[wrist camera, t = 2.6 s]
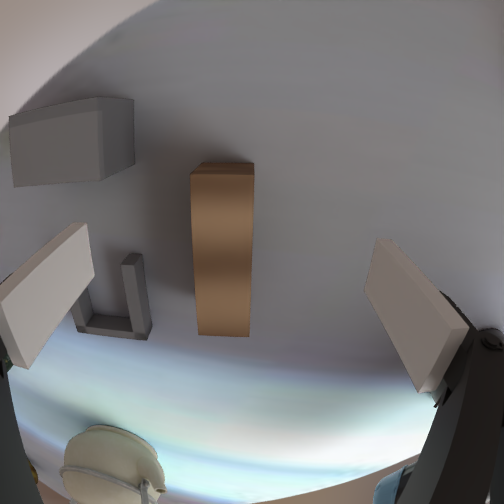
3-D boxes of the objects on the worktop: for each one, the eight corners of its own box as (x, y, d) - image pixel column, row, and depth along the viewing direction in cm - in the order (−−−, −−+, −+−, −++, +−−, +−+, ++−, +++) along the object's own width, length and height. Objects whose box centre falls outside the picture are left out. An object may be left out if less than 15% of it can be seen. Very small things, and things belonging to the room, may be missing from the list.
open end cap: (152, 326, 34) (146, 340, 32) (85, 319, 34) (77, 332, 32) (141, 254, 30) (133, 265, 28) (69, 251, 30) (58, 261, 28)
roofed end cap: (134, 164, 27) (100, 180, 20) (57, 169, 27) (14, 187, 20) (133, 99, 24) (97, 96, 18) (55, 111, 24) (8, 116, 18)
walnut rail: (249, 300, 33) (249, 337, 27) (206, 299, 33) (198, 335, 27) (253, 162, 27) (254, 175, 22) (202, 162, 27) (190, 174, 22)
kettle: (121, 472, 52) (99, 565, 29) (55, 425, 45) (14, 525, 23) (210, 457, 46) (200, 583, 24) (134, 400, 40) (91, 553, 17)
